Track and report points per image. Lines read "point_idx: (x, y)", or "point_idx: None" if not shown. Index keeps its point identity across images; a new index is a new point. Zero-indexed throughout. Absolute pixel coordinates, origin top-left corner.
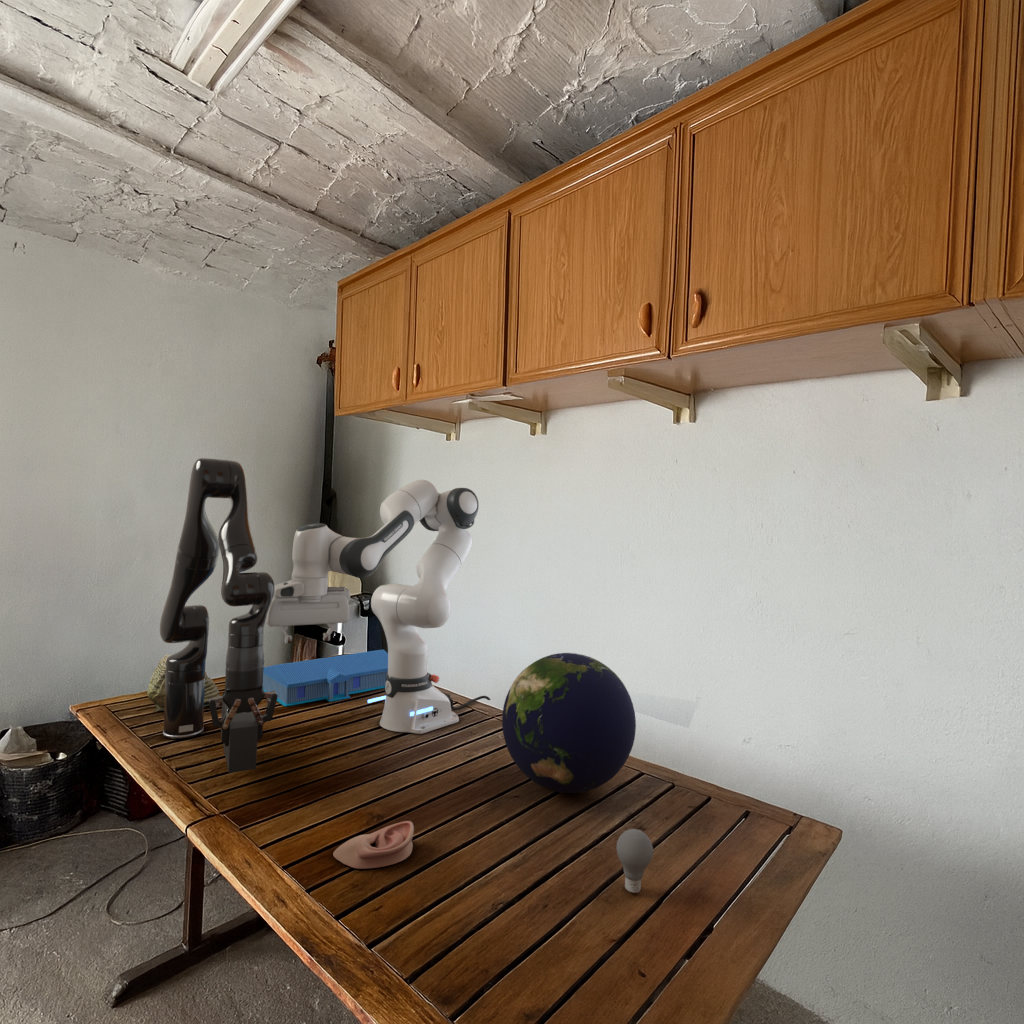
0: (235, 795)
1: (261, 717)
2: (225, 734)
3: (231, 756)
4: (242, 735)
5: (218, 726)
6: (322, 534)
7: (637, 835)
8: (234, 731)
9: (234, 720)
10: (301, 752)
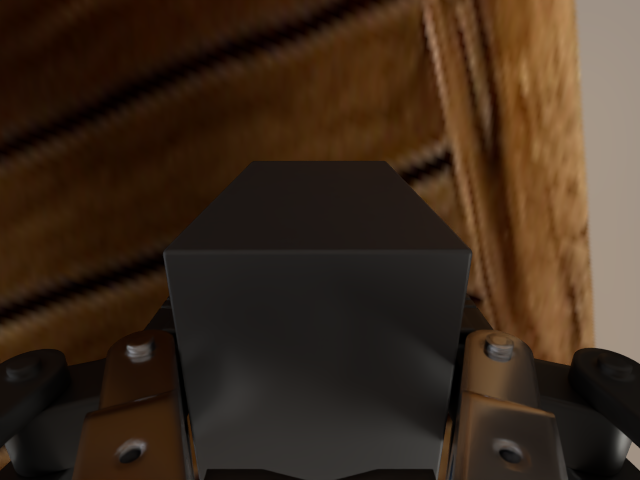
0: (343, 133)
1: (103, 387)
2: None
3: (390, 177)
4: (331, 221)
5: (557, 369)
6: None
7: None
8: (418, 238)
9: (388, 453)
10: None
